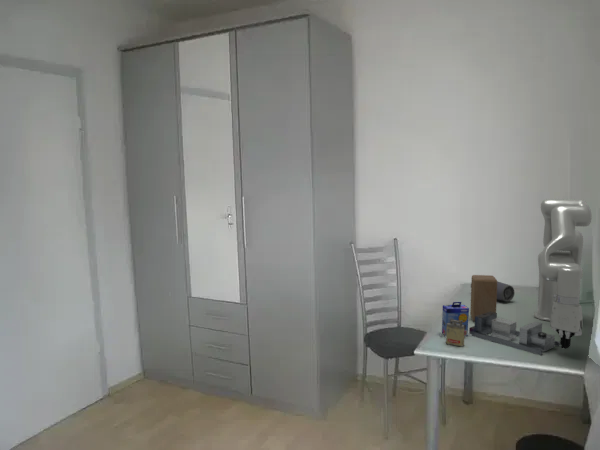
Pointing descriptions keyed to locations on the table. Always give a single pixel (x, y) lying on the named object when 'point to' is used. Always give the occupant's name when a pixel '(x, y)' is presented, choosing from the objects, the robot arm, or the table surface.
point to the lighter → (455, 333)
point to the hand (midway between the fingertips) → (565, 347)
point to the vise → (484, 327)
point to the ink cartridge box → (455, 316)
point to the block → (483, 295)
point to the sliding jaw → (536, 337)
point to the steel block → (503, 329)
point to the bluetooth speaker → (504, 292)
